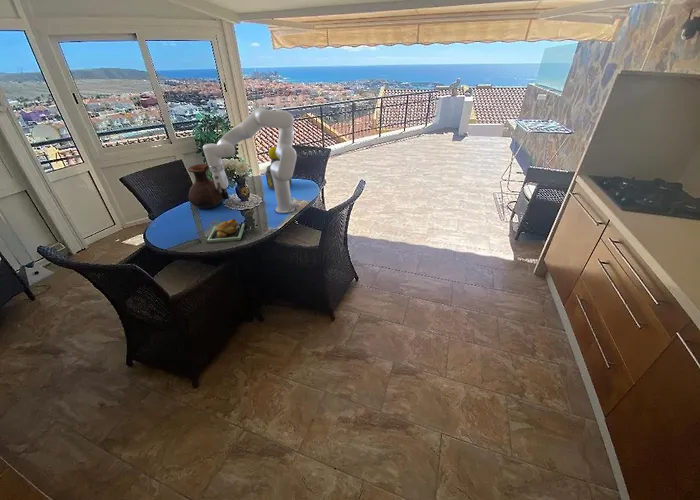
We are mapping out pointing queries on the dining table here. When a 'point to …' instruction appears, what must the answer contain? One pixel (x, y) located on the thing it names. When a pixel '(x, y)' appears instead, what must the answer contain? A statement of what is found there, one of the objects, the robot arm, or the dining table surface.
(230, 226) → the bread roll
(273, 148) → the decorative lamp
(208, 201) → the jug
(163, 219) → the dining table surface
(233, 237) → the frame
